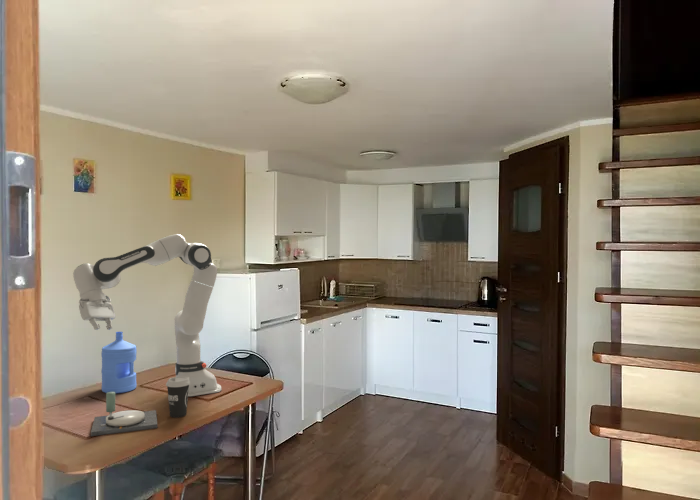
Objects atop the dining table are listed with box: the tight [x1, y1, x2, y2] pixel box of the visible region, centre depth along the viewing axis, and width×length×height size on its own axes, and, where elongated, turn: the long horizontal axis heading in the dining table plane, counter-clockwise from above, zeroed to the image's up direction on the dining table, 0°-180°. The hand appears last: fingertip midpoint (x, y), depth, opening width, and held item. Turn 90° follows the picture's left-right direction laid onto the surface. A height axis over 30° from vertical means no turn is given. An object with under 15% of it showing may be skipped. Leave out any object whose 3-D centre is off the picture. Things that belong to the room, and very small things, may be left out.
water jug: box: [100, 331, 137, 394], centre depth 250 cm, size 16×16×28 cm
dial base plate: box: [90, 409, 158, 437], centre depth 202 cm, size 23×18×2 cm
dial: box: [105, 392, 145, 426], centre depth 202 cm, size 14×14×12 cm
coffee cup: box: [165, 376, 190, 419], centre depth 213 cm, size 10×10×15 cm
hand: (103, 329), depth 219 cm, fingers open, 8 cm apart
